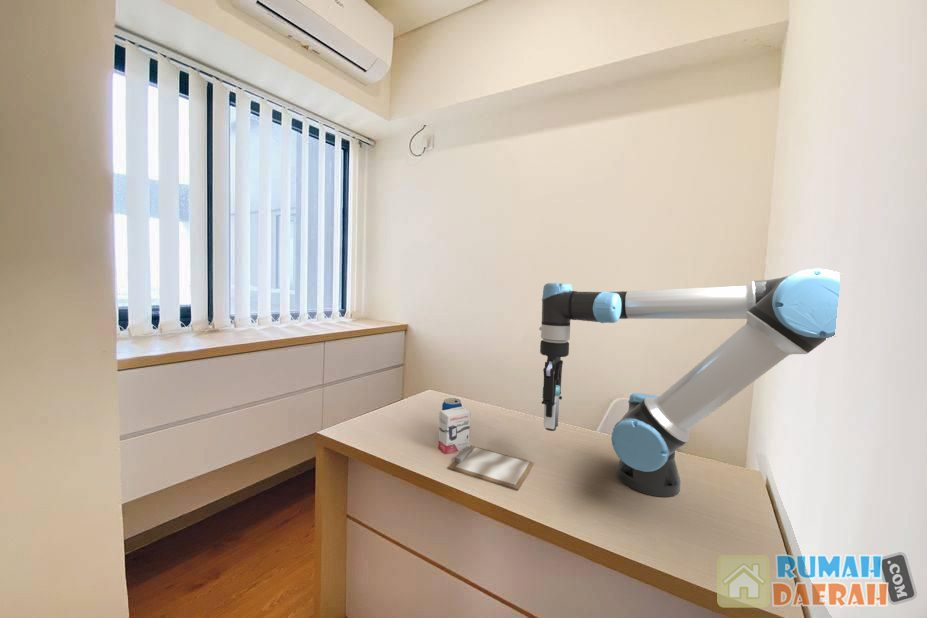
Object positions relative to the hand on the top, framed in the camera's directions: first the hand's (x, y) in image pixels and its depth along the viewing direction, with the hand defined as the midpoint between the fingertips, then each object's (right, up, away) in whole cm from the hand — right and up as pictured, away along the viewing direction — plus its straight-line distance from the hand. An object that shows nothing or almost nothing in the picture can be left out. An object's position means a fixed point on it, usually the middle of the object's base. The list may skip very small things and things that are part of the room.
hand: (550, 424), depth 96 cm
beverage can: (-28, -11, +20) cm, 36 cm away
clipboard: (-16, -12, +2) cm, 20 cm away
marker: (0, -1, 0) cm, 1 cm away
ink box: (-27, -11, +12) cm, 32 cm away
